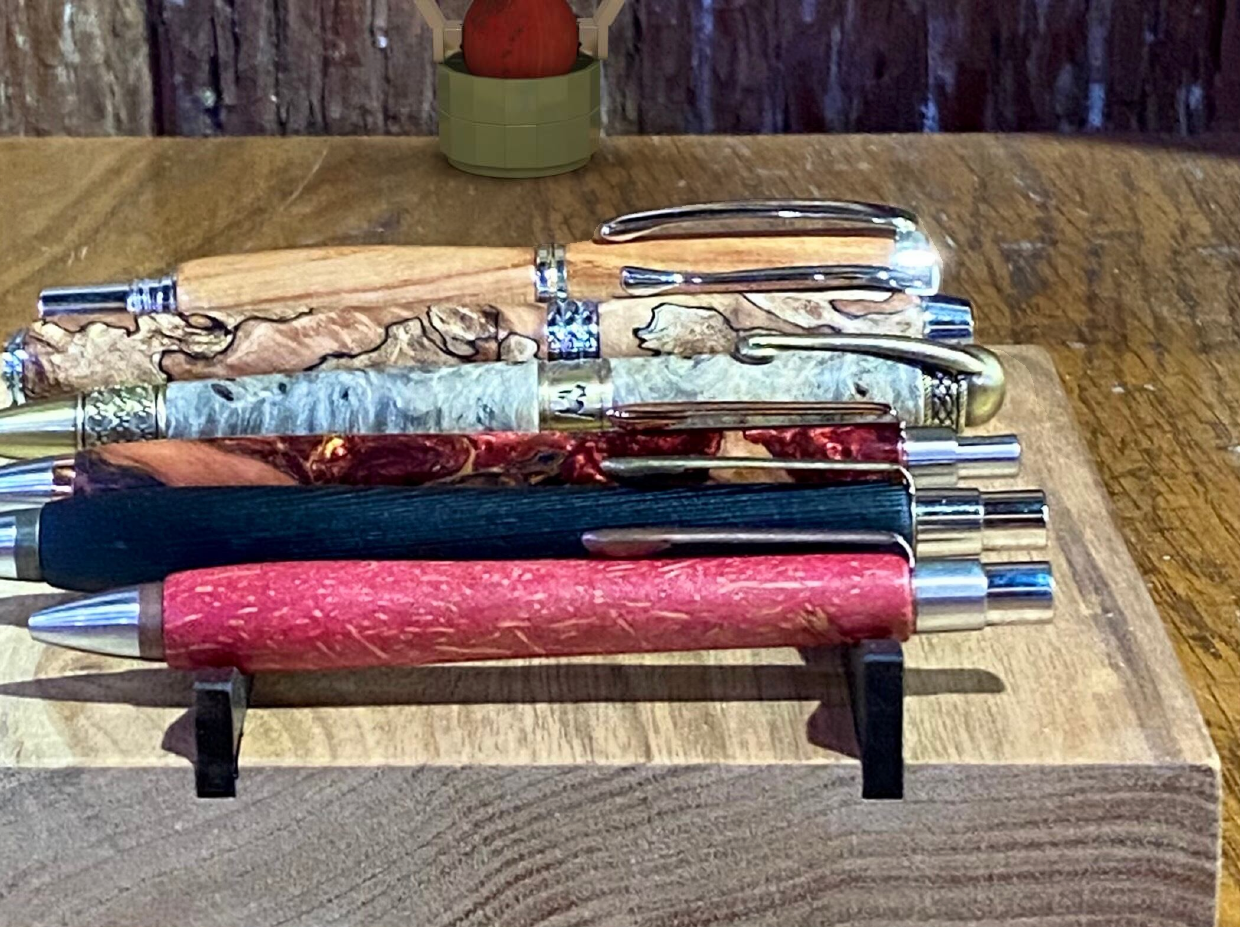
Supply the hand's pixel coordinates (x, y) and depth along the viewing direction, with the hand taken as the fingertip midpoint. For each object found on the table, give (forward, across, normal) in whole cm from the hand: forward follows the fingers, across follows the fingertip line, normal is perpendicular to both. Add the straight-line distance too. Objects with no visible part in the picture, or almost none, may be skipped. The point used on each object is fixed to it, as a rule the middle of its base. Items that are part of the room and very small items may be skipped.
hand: (519, 59), depth 113 cm
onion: (+3, 0, 0) cm, 3 cm away
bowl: (+5, 0, 0) cm, 5 cm away
